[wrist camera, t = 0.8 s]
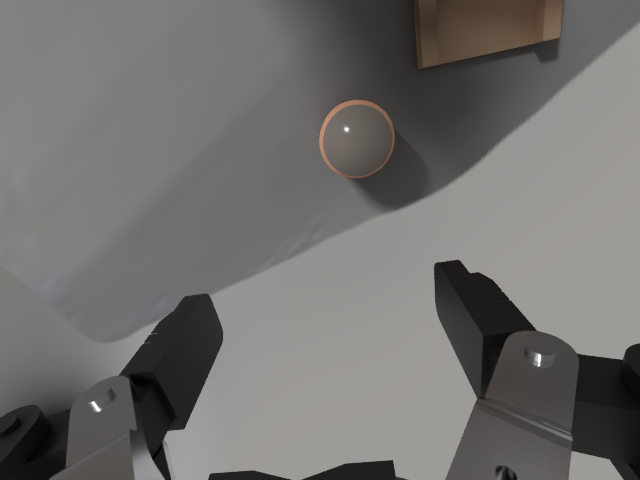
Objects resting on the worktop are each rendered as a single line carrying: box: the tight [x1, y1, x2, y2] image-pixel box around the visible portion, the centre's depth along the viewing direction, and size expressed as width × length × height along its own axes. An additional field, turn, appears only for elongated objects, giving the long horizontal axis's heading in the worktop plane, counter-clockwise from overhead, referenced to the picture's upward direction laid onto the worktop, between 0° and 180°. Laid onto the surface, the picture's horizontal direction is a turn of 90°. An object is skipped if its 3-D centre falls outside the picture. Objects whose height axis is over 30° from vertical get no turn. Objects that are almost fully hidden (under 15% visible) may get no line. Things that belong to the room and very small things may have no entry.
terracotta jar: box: [319, 100, 395, 178], centre depth 26 cm, size 6×6×6 cm
